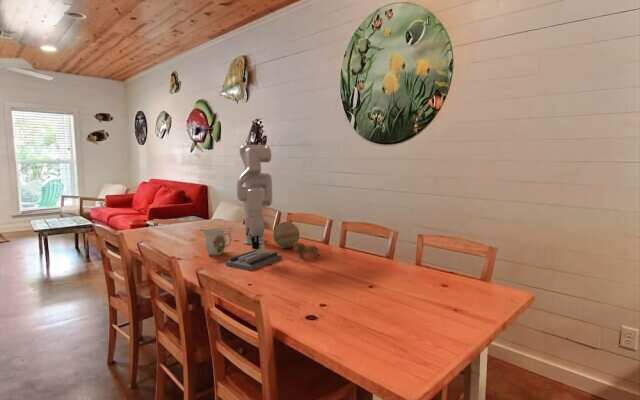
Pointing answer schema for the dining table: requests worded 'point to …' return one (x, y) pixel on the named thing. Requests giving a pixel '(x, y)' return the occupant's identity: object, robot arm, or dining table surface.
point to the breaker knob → (261, 248)
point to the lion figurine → (305, 249)
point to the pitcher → (216, 240)
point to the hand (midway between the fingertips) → (255, 248)
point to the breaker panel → (251, 267)
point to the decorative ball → (286, 234)
